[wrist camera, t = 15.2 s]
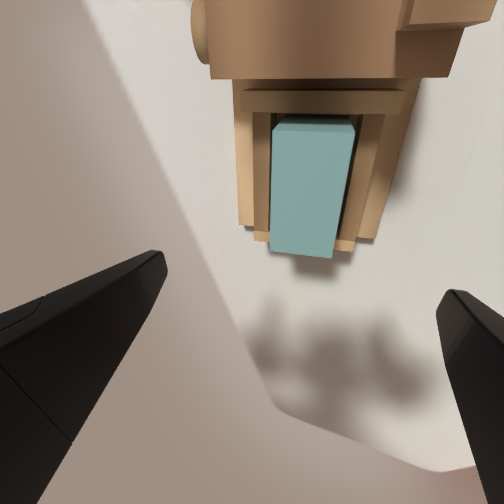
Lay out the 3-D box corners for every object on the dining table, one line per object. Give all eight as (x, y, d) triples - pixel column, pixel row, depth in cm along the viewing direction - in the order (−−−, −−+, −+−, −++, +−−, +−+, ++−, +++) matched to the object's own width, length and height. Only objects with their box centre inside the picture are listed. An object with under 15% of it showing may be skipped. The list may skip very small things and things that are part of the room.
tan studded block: (439, -24, 12) (541, -106, 6) (413, 73, 14) (471, 79, 8) (216, -7, 14) (137, -57, 8) (221, 75, 16) (161, 81, 10)
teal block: (348, 115, 15) (354, 132, 11) (331, 217, 19) (331, 258, 15) (286, 114, 16) (272, 130, 12) (281, 213, 20) (269, 251, 16)
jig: (481, -156, 10) (527, -224, 8) (373, 231, 20) (379, 254, 17) (229, -116, 12) (204, -160, 10) (242, 219, 22) (231, 238, 19)
